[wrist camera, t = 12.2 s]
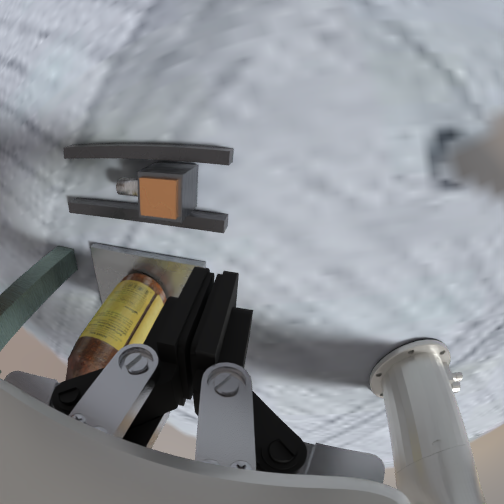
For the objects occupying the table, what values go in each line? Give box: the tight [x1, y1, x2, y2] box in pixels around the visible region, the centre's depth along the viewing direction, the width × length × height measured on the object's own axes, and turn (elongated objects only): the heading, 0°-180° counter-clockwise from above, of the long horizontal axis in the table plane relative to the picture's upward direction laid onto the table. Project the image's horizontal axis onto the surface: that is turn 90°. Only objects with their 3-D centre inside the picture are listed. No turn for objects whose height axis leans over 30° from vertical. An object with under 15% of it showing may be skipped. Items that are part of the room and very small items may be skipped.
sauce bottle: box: [66, 273, 167, 380], centre depth 23 cm, size 6×6×20 cm
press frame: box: [0, 143, 234, 373], centre depth 21 cm, size 24×22×19 cm
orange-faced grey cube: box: [116, 162, 198, 223], centre depth 24 cm, size 7×4×4 cm, turn 84°
